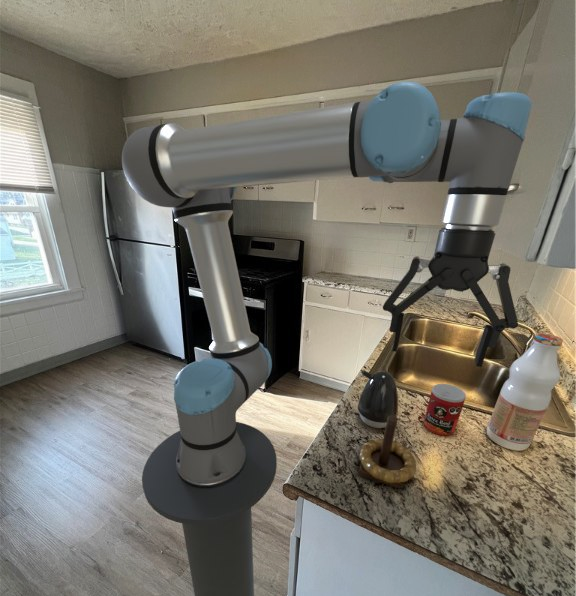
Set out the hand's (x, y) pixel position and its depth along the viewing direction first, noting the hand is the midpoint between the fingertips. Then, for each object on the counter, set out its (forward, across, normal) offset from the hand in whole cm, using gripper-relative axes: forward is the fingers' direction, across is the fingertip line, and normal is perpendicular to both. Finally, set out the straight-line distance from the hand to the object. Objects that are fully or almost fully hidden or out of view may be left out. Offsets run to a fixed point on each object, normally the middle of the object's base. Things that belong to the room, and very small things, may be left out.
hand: (434, 355), depth 56 cm
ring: (+26, +4, 0) cm, 26 cm away
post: (+29, +5, 0) cm, 29 cm away
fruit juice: (+29, -23, -23) cm, 44 cm away
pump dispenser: (+29, +9, -16) cm, 34 cm away
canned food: (+29, -7, -21) cm, 36 cm away
